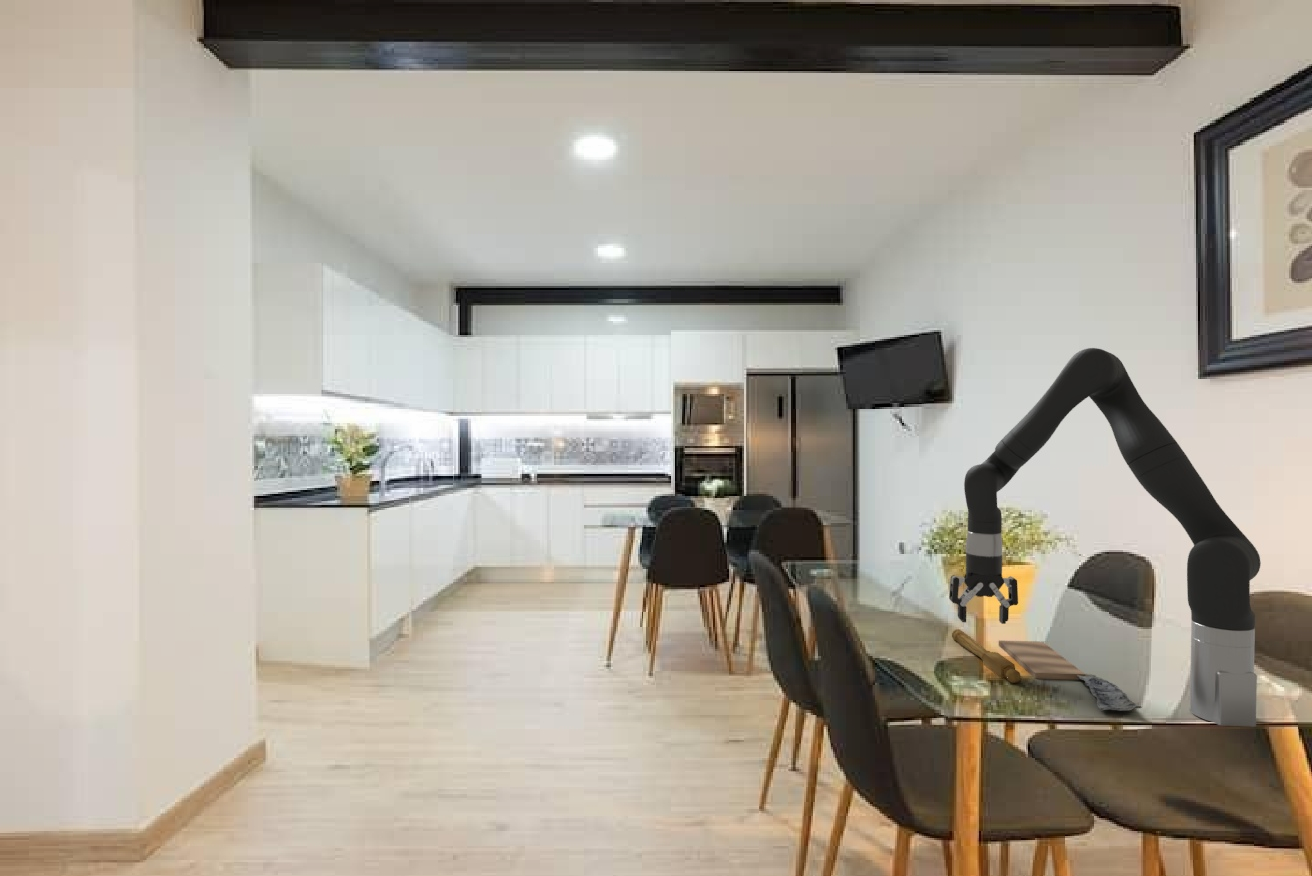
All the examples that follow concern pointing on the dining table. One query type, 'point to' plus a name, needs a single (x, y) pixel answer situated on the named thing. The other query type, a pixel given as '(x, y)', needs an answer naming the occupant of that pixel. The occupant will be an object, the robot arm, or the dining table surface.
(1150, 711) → the dining table surface
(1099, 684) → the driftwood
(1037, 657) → the cutting board
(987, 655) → the tap handle
